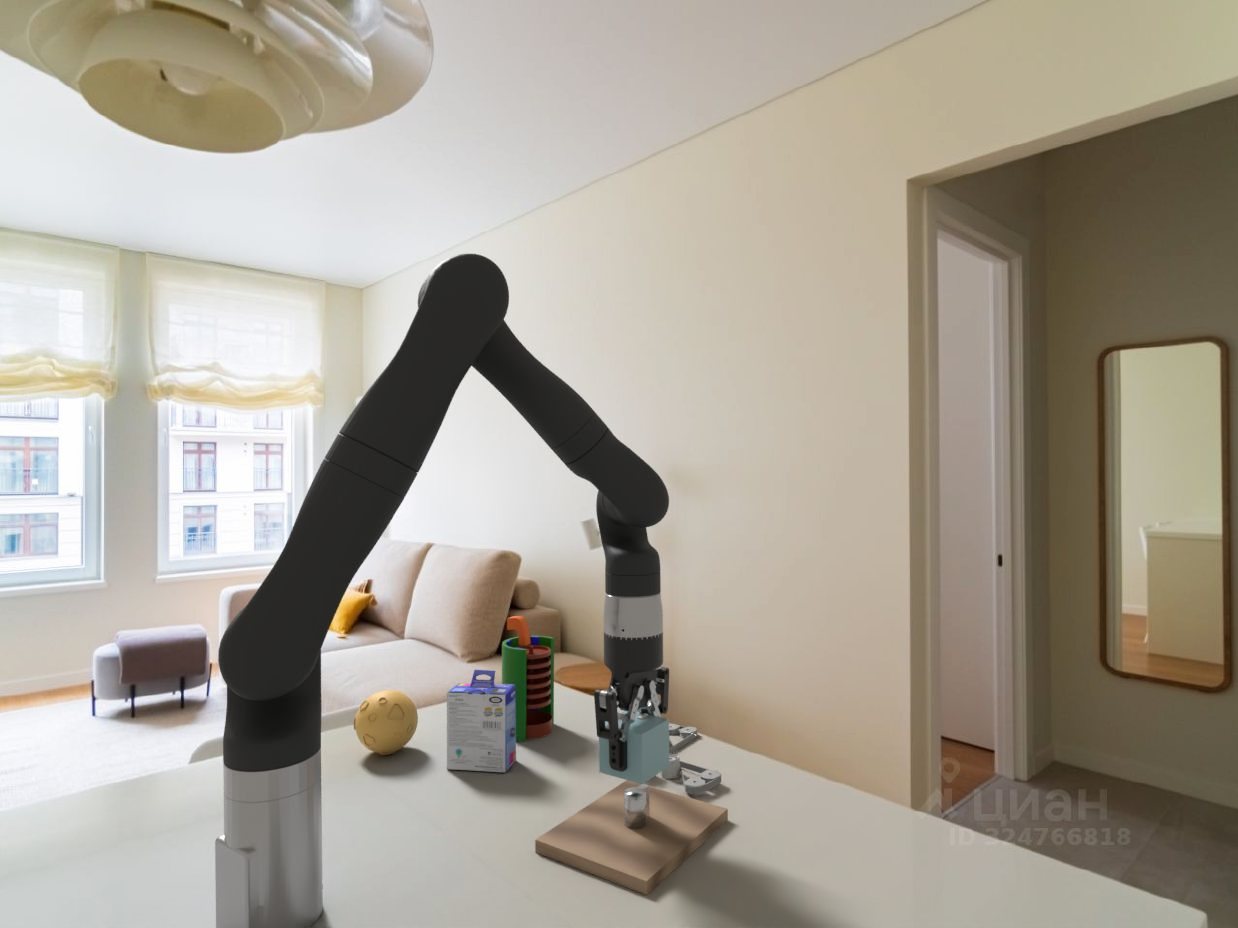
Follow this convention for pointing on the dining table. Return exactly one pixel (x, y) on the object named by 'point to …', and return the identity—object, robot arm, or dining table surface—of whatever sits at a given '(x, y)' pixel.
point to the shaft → (636, 806)
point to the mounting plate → (632, 837)
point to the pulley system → (689, 765)
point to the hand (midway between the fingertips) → (634, 759)
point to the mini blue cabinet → (640, 749)
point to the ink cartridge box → (481, 725)
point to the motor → (530, 679)
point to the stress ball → (386, 721)
